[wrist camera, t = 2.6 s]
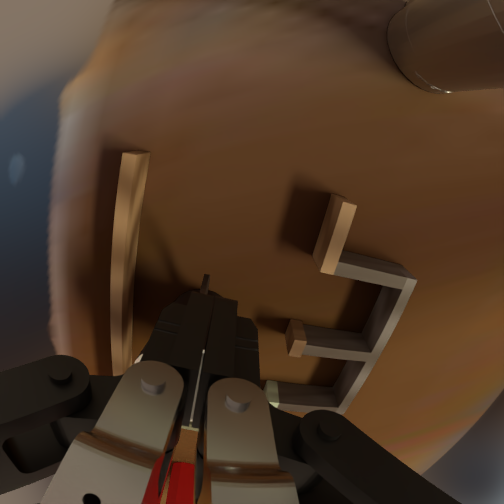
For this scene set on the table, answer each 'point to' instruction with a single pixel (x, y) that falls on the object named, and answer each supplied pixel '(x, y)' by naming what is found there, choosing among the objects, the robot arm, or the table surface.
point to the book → (181, 484)
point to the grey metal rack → (297, 334)
